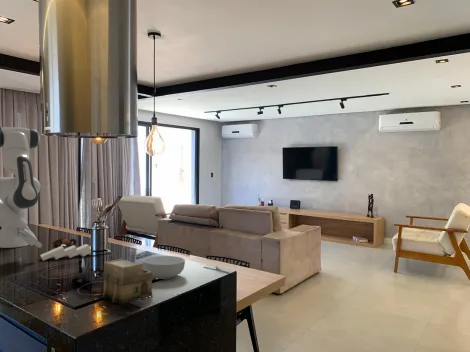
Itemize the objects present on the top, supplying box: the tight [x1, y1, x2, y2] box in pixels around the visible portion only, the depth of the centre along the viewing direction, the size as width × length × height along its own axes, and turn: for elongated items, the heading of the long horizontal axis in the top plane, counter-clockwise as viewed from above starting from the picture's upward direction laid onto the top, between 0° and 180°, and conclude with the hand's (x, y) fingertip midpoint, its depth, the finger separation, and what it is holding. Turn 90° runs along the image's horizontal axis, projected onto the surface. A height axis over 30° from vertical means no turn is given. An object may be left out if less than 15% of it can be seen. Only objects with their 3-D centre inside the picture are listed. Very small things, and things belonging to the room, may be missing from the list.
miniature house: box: [101, 258, 154, 305], centre depth 120 cm, size 15×14×11 cm
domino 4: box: [79, 245, 92, 257], centre depth 182 cm, size 2×5×10 cm
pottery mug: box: [52, 236, 78, 249], centre depth 192 cm, size 12×10×8 cm
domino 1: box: [40, 245, 65, 262], centre depth 172 cm, size 2×5×10 cm
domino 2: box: [53, 245, 77, 260], centre depth 175 cm, size 2×5×10 cm
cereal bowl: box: [142, 255, 186, 280], centre depth 143 cm, size 17×17×7 cm
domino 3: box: [66, 243, 90, 259], centre depth 179 cm, size 2×5×10 cm
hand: (40, 246), depth 169 cm, fingers closed
